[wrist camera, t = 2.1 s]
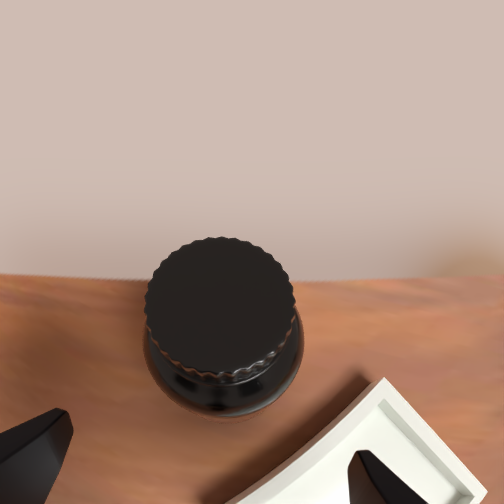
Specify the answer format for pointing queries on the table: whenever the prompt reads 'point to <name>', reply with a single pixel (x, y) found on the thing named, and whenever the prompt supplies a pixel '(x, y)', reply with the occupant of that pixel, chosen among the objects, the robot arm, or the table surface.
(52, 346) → the table surface
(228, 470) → the table surface
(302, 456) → the ceramic tray
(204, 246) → the supplement bottle
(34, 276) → the table surface
